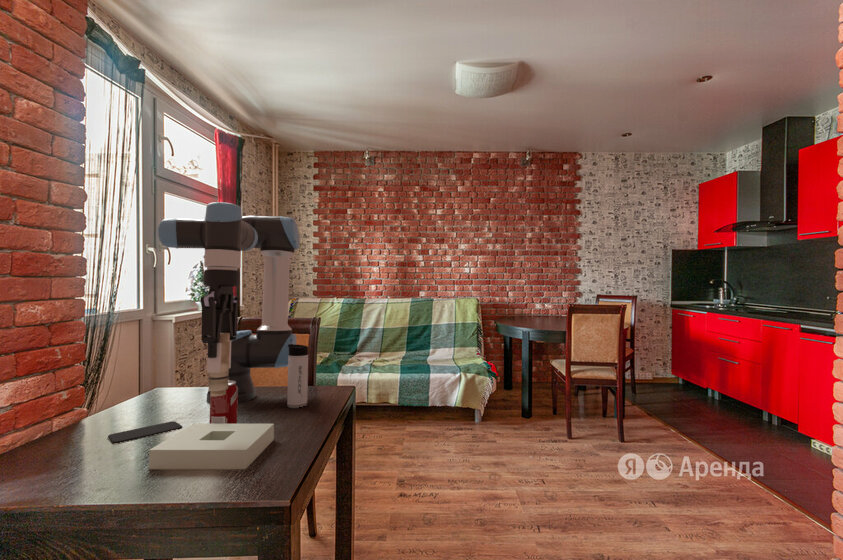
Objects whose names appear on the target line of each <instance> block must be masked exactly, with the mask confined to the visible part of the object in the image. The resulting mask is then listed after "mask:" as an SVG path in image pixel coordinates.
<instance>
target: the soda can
mask: <svg viewBox="0 0 843 560" xmlns="http://www.w3.org/2000/svg"><path fill="white" fill-rule="evenodd" d="M235 383H236V382H235V381H228V389H226V394H225V395H222V396H210V403H209V419H208V420H209V421H208V424H238V406H239V405H238V404H239V403H238V387H237V386H236V385H235Z"/></svg>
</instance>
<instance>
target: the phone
mask: <svg viewBox="0 0 843 560" xmlns="http://www.w3.org/2000/svg"><path fill="white" fill-rule="evenodd" d="M182 428H183V425H181V424H180V423H179V422H177V421H175V420H174V421H173V420H172V421H167V422H162V423H157V424H153V425H148V426H143V427H138V428H135V429H130V430H129V429H128V430H124V431H120V432H113V433H111V434H108V435H107V439H108V438H109V439H110V440H109V439H108V440H109V441H110V443H112V444H113V443H118V444H121V443H120V442H123V443H125V442H124V441H127V442H130V441H129V440H131V441H135V440H139V439H138V438H140V439H143V438H142V437H144V438H147V437H146V436H148V437H151V436H150V435H152V436H155V435H154V434H157V435H160V434H159V433H161V434H164V433H163V432H165V433H169V432H172V431H171V430H174V431H177V430H176V429H178V430H181V429H182ZM168 431H169V432H168ZM134 439H135V440H134Z"/></svg>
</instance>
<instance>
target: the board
mask: <svg viewBox="0 0 843 560" xmlns="http://www.w3.org/2000/svg"><path fill="white" fill-rule="evenodd" d="M274 434H275V423H237V424H209V423H192V424H191V425H188V427H185V428H184V429H182V430H180V431H178V432H177V433H175V434H173V436H170V437H169V438H167V439H166V440H164V441H162V442H160V443H159V444H157V445H155V446H154V447H152V448H150V449H149V451H148V454H149V456H148V470H247V468H249V466H250V465H251V464H252V463H253V462H255V460H256V459H257V458H258V457H259V456H260V455H261V454H262V453H263V452H264V451H265V449H266V448H267V447H268V446H269V445H270V444H271V443H272V442H273V441H274V440H275V435H274Z"/></svg>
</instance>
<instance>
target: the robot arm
mask: <svg viewBox="0 0 843 560" xmlns="http://www.w3.org/2000/svg"><path fill="white" fill-rule="evenodd" d="M205 209H206V211H205V215H204V219H202V218H200V219H199V218H198V219H197V218H196V219H194V218H177V217H176V218H175V217H174V218H164V219H162V220H161V221H160V222H159V224H158V228H157V236H158V240H159V242H160V244H161V245H162V246H164V247H165V248H169V249H171V248H174V249H204V255H203V259H204V262H203V263H204V265H203V266H204V267H205V268H206V269H205V270H204V271H203V279H202V280H203V282H202V283H203V285H204V286H205V287H209V289H208V292H207V296H201V297H200V299H199V301H200V304H201V343H202V344H207V356H206V357H207V359H206V360H207V361H206V373H209V372H221V347H222V343H219V341H220V333H230V342H229V374H228V375H229V378H228V381H235V382H236V383H235V385H236V386H237V387H238V404H239V403H244V402H247V401H250V399H251V400H252V398H253V399H254V398H255V397H256V388H255V385H254V382H253V378H252V376H251V369H262V368H263V369H264V368H265V369H266V368H267V369H268V368H270V369H271V368H273V369H279V368H288V355H289V347H288V345H289V344H293V345H297V335H296V334H295V333H292V331H293V329H292V327H290V326H289V323H288V322H289V321H288V319H289V317H288V316H289V291H290V290H289V289H290V284H289V283H290V265H291V264H290V263H291V258H292V257H293V256H294V255H295V250H299V249H300V245H301V244H300V243H301V241H300V231H299V227H298V224H297V222H296V220H295V219H294V218H293V217H289V216H282V215H280V216H277V215H276V216H275V215H274V216H273V215H272V216H271V215H269V216H267V215H244V216H243V215H242V214H243V213H242V212H243V211H242V208H241V206H240V205H238V204H234V203H231V202H230V203H229V202H224V201H223V202H221V201H214V202H210V203H208V204H207V205H206V208H205ZM253 249H260V255H262V257H263V258H264V259H263V260H264V263H263V264H264V265H263V284H262V285H263V288H262V310H261V311H262V314H261V325H260V326H259V327H257V329H256V334H253V332H252V330H250V329H246V330H238V313H239V311H238V310H239V302H240V296H235V291H234V287H239V286H240V280H241V279H240V278H241V277H240V276H241V272H240V271H239V269H240V268H241V258H242V257H241V253H242V252H248V251H250V250H253ZM206 402H207V403H208V404H210V391H209V390H207V393H206Z"/></svg>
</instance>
